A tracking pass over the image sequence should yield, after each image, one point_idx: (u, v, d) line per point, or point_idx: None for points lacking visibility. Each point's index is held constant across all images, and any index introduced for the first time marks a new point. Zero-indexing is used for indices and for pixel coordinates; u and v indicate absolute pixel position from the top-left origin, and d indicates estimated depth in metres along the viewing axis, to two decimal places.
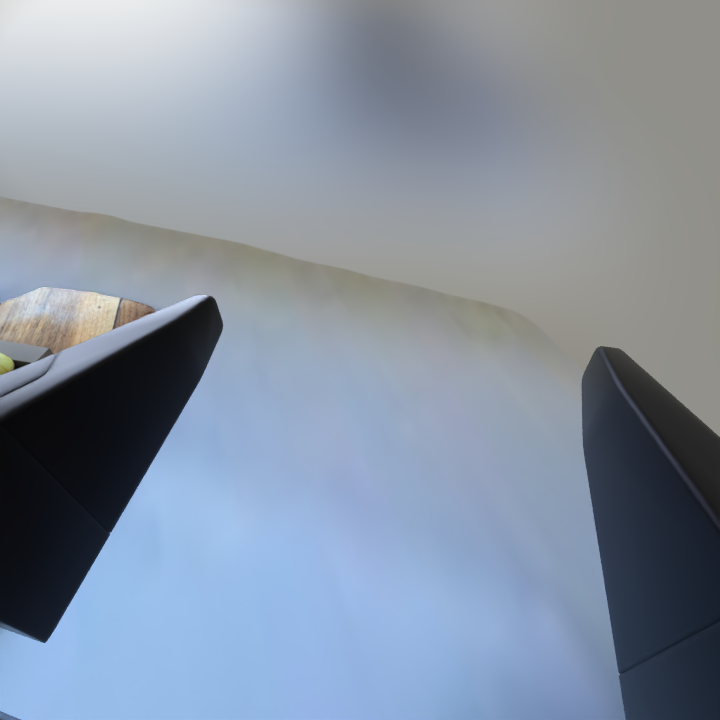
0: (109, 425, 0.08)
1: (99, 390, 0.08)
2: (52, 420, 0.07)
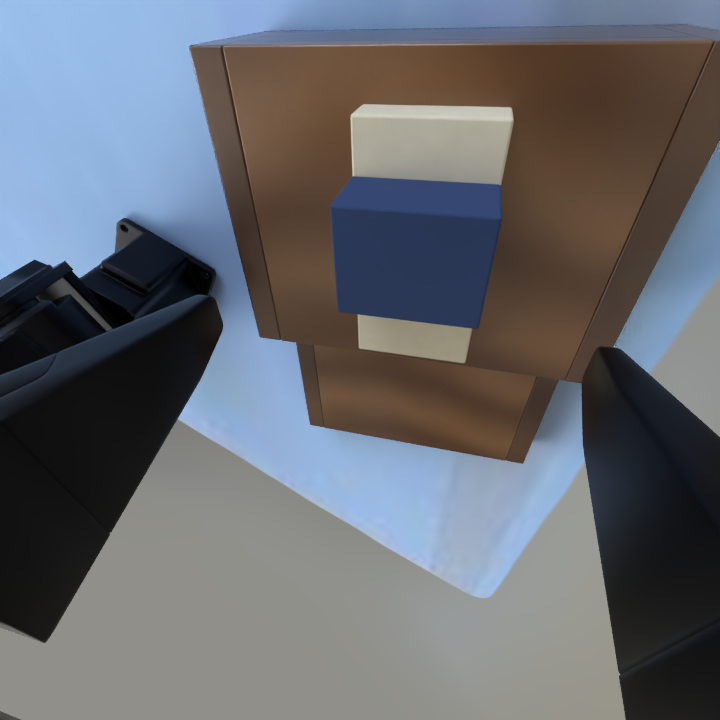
0: (109, 425, 0.08)
1: (99, 390, 0.08)
2: (52, 420, 0.07)
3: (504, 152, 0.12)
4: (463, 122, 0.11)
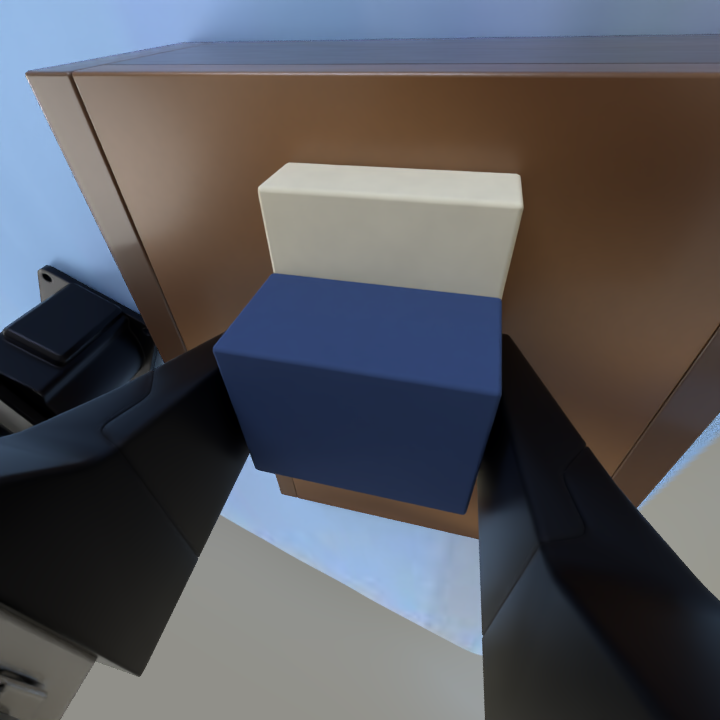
0: (205, 445, 0.07)
1: (200, 409, 0.07)
2: (161, 443, 0.06)
3: (507, 253, 0.07)
4: (439, 207, 0.07)
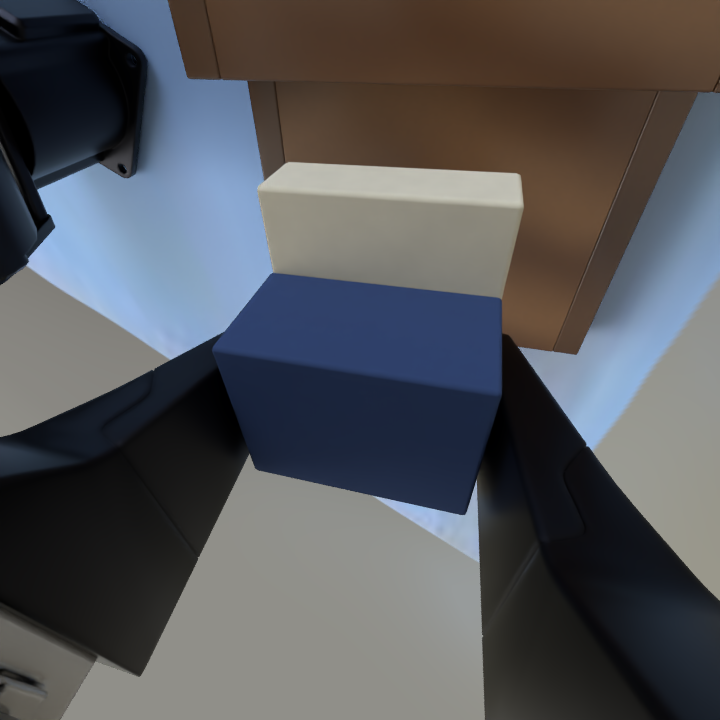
0: (205, 445, 0.07)
1: (200, 409, 0.07)
2: (161, 443, 0.06)
3: (507, 253, 0.07)
4: (439, 206, 0.07)
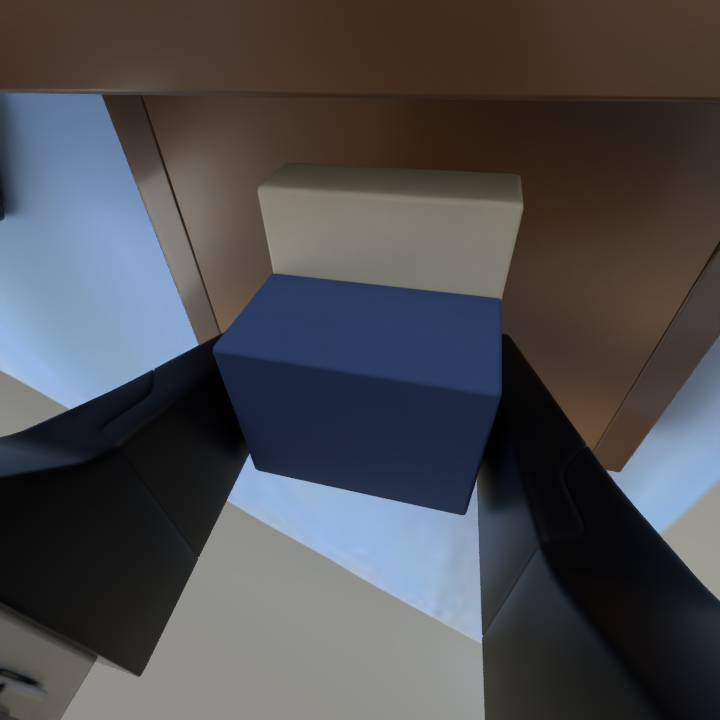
0: (205, 445, 0.07)
1: (200, 409, 0.07)
2: (161, 443, 0.06)
3: (507, 253, 0.07)
4: (439, 207, 0.07)
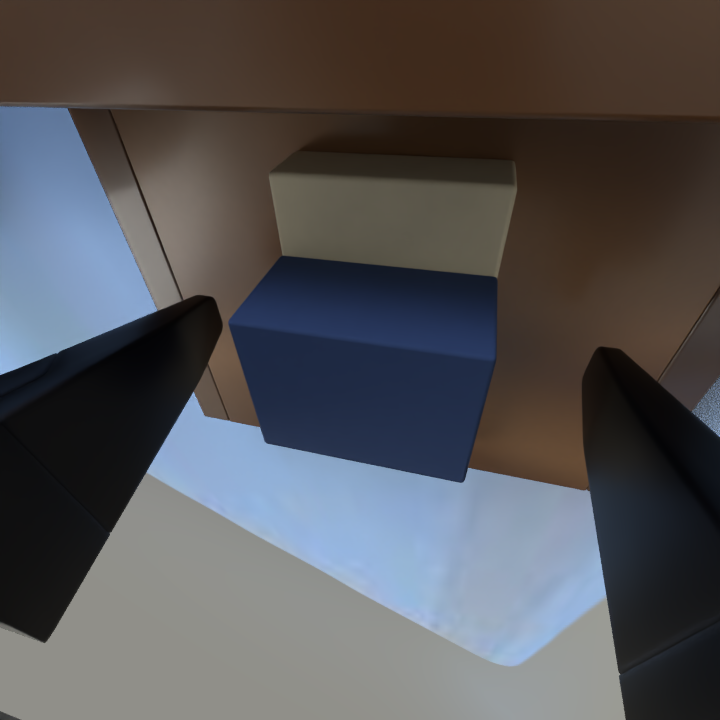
0: (109, 425, 0.08)
1: (99, 390, 0.08)
2: (52, 420, 0.07)
3: (502, 233, 0.07)
4: (438, 190, 0.07)
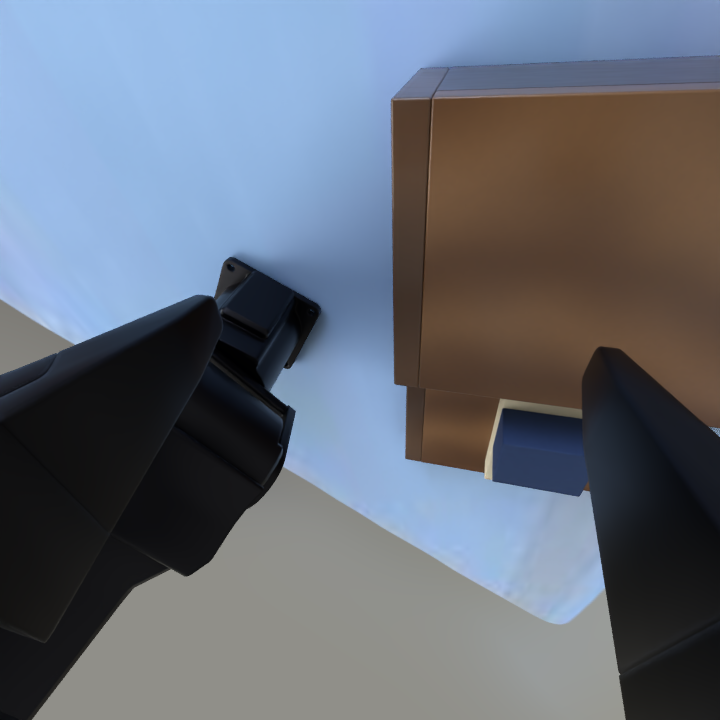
0: (109, 425, 0.08)
1: (99, 390, 0.08)
2: (52, 420, 0.07)
3: None
4: None
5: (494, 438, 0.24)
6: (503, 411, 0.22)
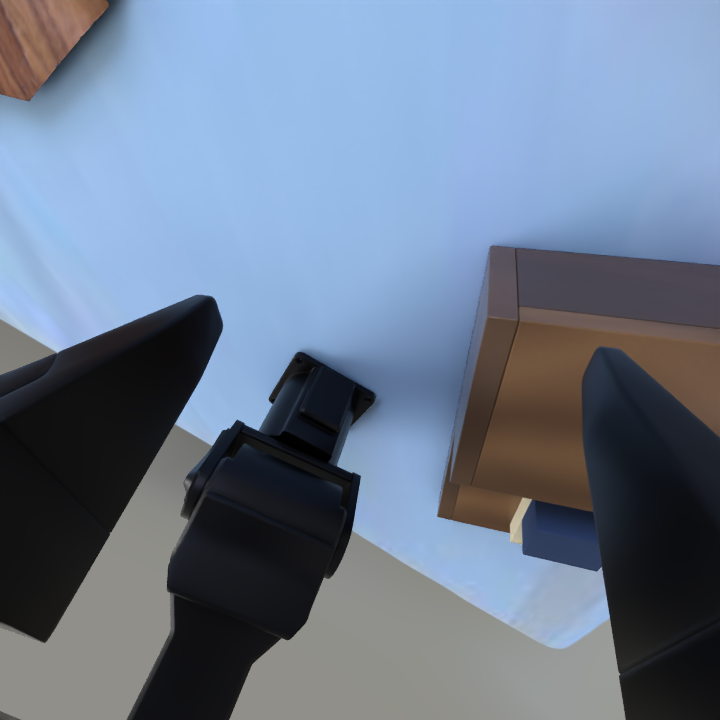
0: (109, 425, 0.08)
1: (99, 390, 0.08)
2: (52, 420, 0.07)
3: None
4: None
5: (523, 514, 0.28)
6: None
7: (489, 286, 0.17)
